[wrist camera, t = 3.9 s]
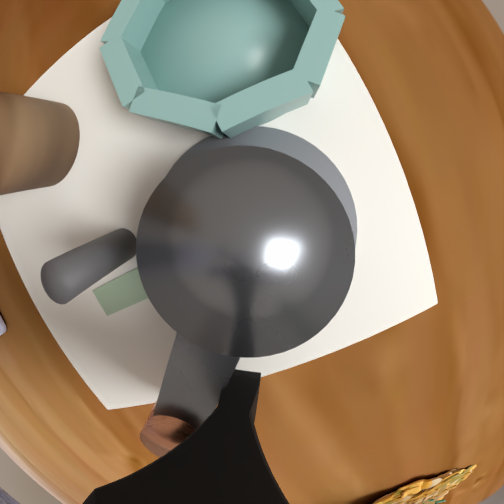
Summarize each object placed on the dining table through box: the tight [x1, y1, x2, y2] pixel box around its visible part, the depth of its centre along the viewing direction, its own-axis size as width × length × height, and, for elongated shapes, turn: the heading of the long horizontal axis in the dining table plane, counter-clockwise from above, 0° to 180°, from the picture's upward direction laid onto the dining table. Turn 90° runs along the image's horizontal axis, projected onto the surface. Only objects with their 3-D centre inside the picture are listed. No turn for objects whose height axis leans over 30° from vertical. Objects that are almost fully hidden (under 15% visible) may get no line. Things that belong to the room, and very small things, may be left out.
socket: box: [100, 0, 345, 139], centre depth 7 cm, size 7×7×2 cm
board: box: [0, 17, 438, 410], centre depth 8 cm, size 17×16×5 cm
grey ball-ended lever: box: [136, 145, 355, 457], centre depth 8 cm, size 11×5×3 cm, turn 159°
